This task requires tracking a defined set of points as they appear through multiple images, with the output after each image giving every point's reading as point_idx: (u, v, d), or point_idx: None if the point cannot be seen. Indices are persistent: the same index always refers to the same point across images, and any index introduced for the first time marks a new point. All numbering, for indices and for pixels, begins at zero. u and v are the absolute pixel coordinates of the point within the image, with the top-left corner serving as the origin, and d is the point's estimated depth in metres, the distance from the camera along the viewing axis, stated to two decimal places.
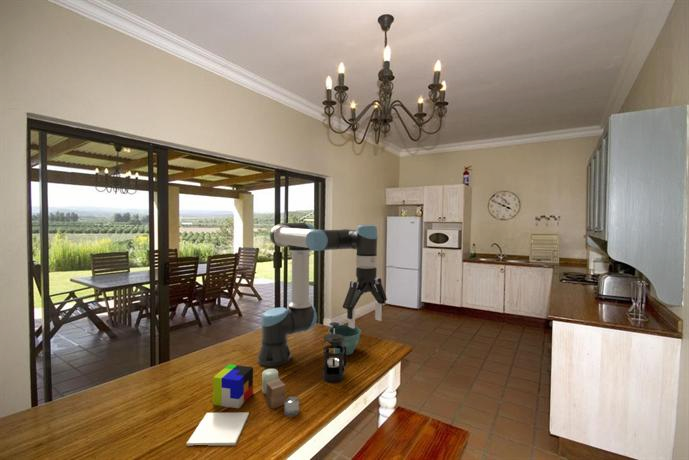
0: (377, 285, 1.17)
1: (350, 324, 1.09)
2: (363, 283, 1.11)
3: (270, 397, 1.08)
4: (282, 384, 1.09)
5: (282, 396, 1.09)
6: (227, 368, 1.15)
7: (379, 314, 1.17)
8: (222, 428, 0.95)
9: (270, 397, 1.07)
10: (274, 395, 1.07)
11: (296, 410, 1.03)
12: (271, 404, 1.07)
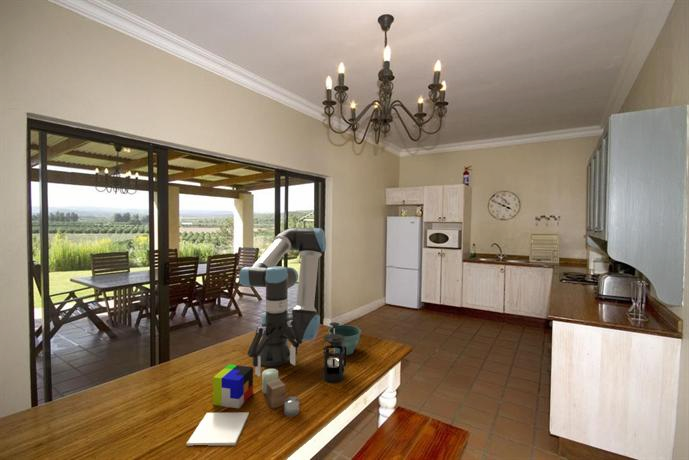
0: (291, 328, 1.13)
1: (256, 371, 1.05)
2: (271, 328, 1.07)
3: (270, 397, 1.08)
4: (282, 384, 1.09)
5: (282, 396, 1.09)
6: (227, 368, 1.15)
7: (293, 358, 1.13)
8: (222, 428, 0.95)
9: (270, 397, 1.07)
10: (274, 395, 1.07)
11: (296, 410, 1.03)
12: (271, 404, 1.07)
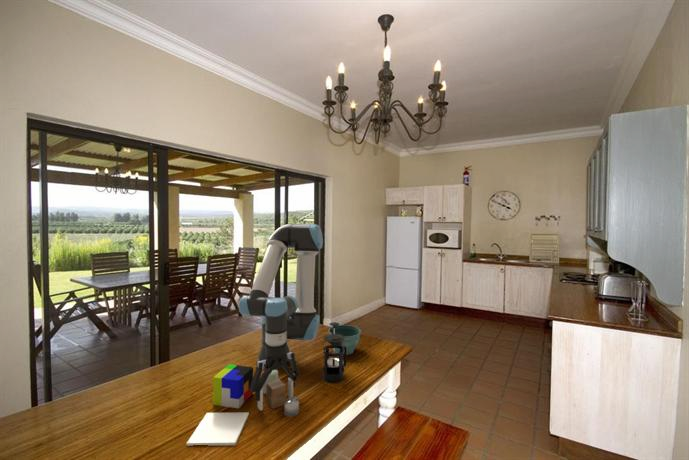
0: (290, 360, 1.13)
1: (258, 405, 1.06)
2: (271, 361, 1.07)
3: (270, 397, 1.08)
4: (282, 384, 1.09)
5: (282, 396, 1.09)
6: (227, 368, 1.15)
7: (290, 391, 1.13)
8: (222, 428, 0.95)
9: (270, 397, 1.07)
10: (274, 395, 1.07)
11: (296, 410, 1.03)
12: (271, 404, 1.07)
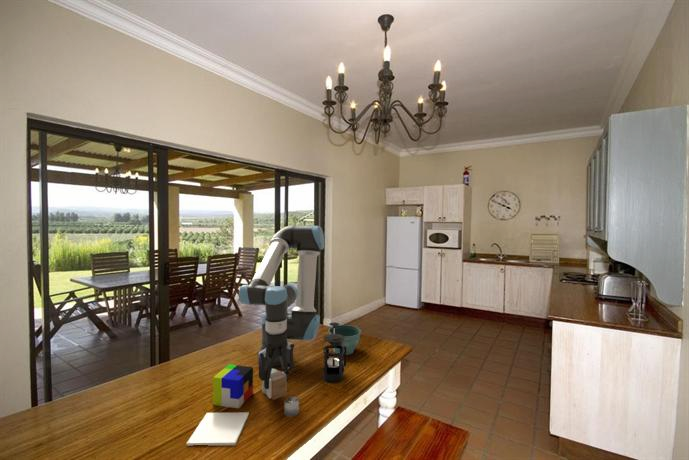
0: (288, 350, 1.13)
1: (267, 393, 1.08)
2: (271, 348, 1.07)
3: None
4: (282, 375, 1.10)
5: (283, 387, 1.09)
6: (227, 368, 1.15)
7: None
8: (222, 428, 0.95)
9: None
10: (274, 386, 1.07)
11: (296, 410, 1.03)
12: (272, 395, 1.07)
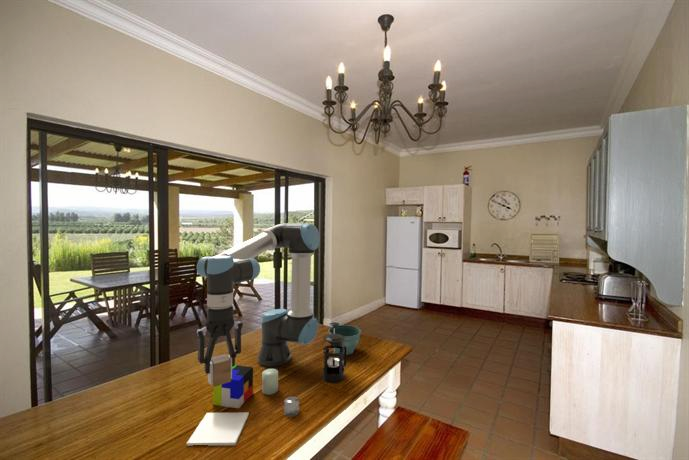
0: (235, 330, 0.98)
1: (209, 379, 0.93)
2: (213, 325, 0.92)
3: None
4: (227, 359, 0.95)
5: (227, 372, 0.94)
6: None
7: None
8: (222, 428, 0.95)
9: None
10: (216, 371, 0.92)
11: (296, 410, 1.03)
12: (213, 381, 0.92)
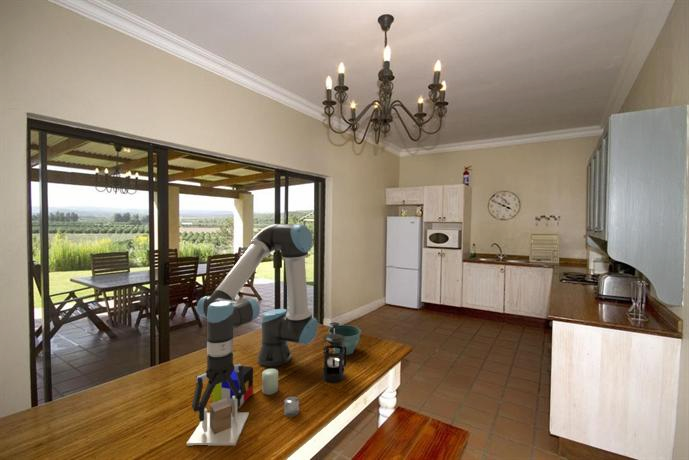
0: (237, 373, 0.99)
1: (203, 426, 0.93)
2: (213, 373, 0.93)
3: (212, 420, 0.94)
4: (227, 405, 0.95)
5: (227, 419, 0.95)
6: None
7: (234, 412, 0.98)
8: None
9: (212, 421, 0.93)
10: (216, 418, 0.93)
11: (296, 410, 1.03)
12: (213, 428, 0.93)
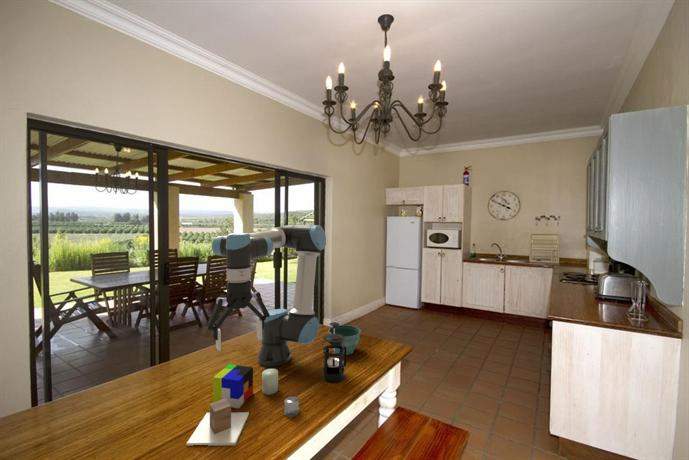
0: (256, 300, 1.04)
1: (217, 346, 0.97)
2: (233, 299, 0.98)
3: (212, 420, 0.94)
4: (227, 405, 0.95)
5: (227, 419, 0.95)
6: (227, 368, 1.15)
7: (259, 332, 1.04)
8: None
9: (212, 421, 0.93)
10: (216, 418, 0.93)
11: (296, 410, 1.03)
12: (213, 428, 0.93)
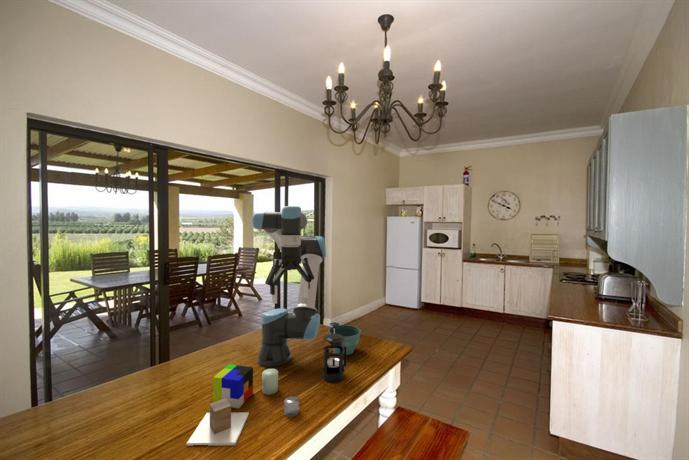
0: (304, 264, 1.23)
1: (273, 300, 1.15)
2: (286, 261, 1.16)
3: (212, 420, 0.94)
4: (227, 405, 0.95)
5: (227, 419, 0.95)
6: (227, 368, 1.15)
7: (306, 292, 1.22)
8: None
9: (212, 421, 0.93)
10: (216, 418, 0.93)
11: (296, 410, 1.03)
12: (213, 428, 0.93)
